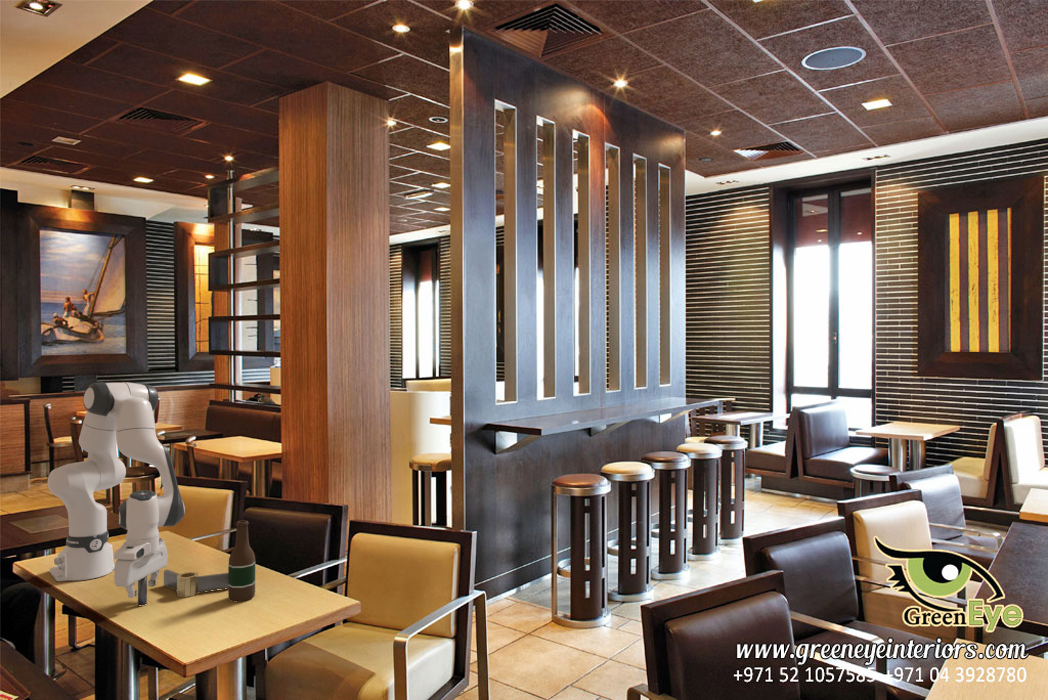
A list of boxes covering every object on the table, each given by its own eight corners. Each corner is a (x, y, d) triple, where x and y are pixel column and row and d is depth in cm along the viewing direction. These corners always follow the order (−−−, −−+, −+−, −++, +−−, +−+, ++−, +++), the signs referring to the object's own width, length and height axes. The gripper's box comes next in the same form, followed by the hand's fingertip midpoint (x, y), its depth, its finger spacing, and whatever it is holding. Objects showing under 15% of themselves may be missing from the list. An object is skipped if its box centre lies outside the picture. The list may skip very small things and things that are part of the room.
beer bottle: (260, 595, 217) (261, 519, 217) (243, 603, 210) (243, 525, 209) (240, 592, 219) (241, 517, 219) (222, 600, 212) (223, 523, 212)
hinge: (156, 587, 223) (156, 569, 223) (201, 575, 235) (201, 557, 235) (190, 601, 211) (191, 582, 211) (236, 587, 223) (236, 569, 223)
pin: (136, 605, 208) (136, 575, 208) (144, 602, 210) (144, 573, 210) (140, 607, 207) (140, 577, 207) (148, 604, 209) (148, 575, 209)
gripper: (154, 536, 219) (154, 579, 219) (109, 555, 199) (109, 603, 199) (173, 536, 218) (172, 580, 218) (130, 556, 198) (130, 603, 198)
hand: (142, 591), depth 208 cm, fingers open, 8 cm apart
